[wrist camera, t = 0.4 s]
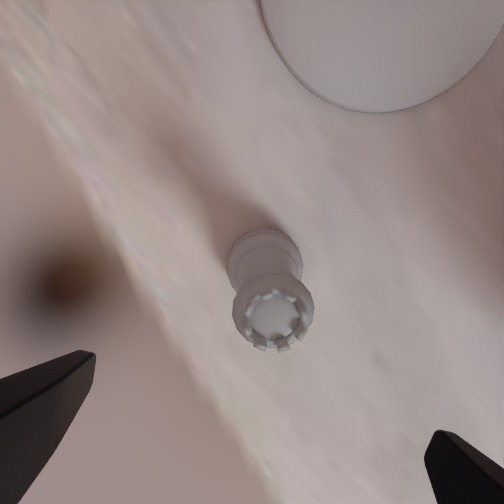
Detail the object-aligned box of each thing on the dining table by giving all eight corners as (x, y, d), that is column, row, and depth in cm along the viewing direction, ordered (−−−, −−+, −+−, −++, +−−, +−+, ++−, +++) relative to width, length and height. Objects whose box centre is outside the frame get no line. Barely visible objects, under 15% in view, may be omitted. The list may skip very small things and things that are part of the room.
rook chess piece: (223, 230, 19) (206, 270, 11) (298, 223, 19) (333, 257, 11) (231, 301, 20) (222, 381, 12) (303, 294, 20) (338, 370, 12)
